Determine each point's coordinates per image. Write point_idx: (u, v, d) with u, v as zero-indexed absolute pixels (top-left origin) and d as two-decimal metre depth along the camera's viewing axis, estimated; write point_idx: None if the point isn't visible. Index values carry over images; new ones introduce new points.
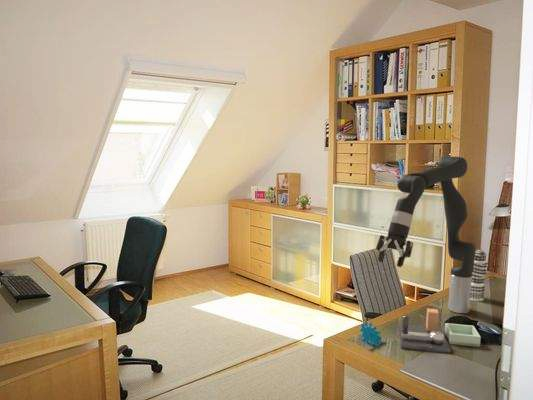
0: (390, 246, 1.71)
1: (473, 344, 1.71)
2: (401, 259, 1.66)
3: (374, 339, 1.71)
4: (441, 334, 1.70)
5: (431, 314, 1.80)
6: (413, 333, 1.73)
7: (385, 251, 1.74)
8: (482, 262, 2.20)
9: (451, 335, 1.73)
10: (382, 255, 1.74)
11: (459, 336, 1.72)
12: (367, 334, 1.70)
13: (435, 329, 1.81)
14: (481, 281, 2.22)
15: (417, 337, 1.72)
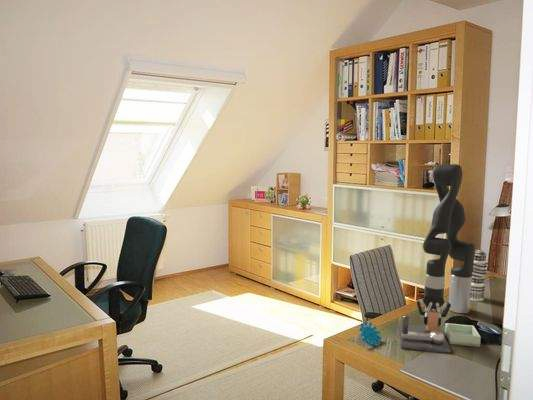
0: (433, 307, 1.81)
1: (473, 344, 1.71)
2: (440, 319, 1.81)
3: (373, 339, 1.71)
4: (441, 334, 1.70)
5: (431, 314, 1.80)
6: (413, 333, 1.73)
7: None
8: (482, 262, 2.20)
9: (451, 335, 1.73)
10: None
11: (459, 336, 1.72)
12: (366, 334, 1.71)
13: (435, 329, 1.81)
14: (481, 281, 2.22)
15: (417, 337, 1.72)
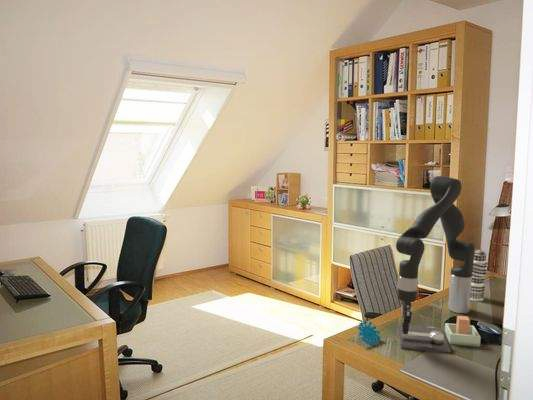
0: None
1: (473, 344, 1.71)
2: (404, 324, 1.71)
3: (372, 338, 1.71)
4: (441, 334, 1.70)
5: (462, 321, 1.75)
6: (413, 333, 1.73)
7: None
8: (482, 262, 2.20)
9: (451, 335, 1.73)
10: None
11: (459, 336, 1.72)
12: (365, 333, 1.72)
13: None
14: (481, 281, 2.22)
15: (417, 337, 1.72)
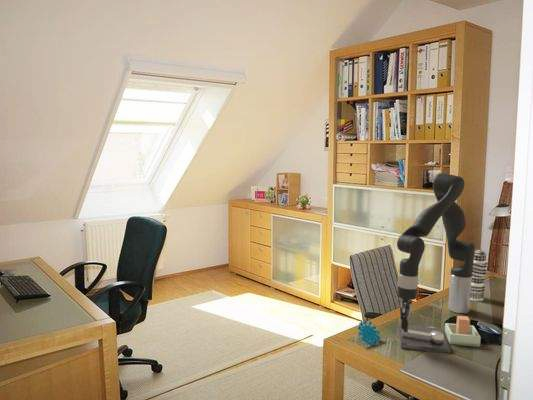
0: None
1: (473, 344, 1.71)
2: None
3: (372, 338, 1.72)
4: (441, 334, 1.70)
5: (462, 321, 1.75)
6: (413, 332, 1.74)
7: None
8: (482, 262, 2.20)
9: (451, 335, 1.73)
10: None
11: (459, 336, 1.72)
12: (364, 332, 1.72)
13: None
14: (481, 281, 2.22)
15: (416, 335, 1.73)
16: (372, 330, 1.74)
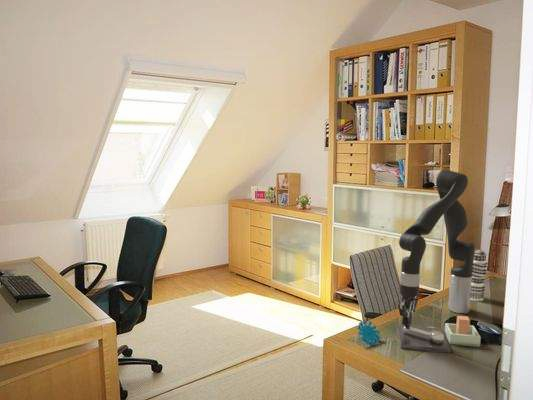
0: None
1: (473, 344, 1.71)
2: (403, 318, 1.77)
3: (371, 338, 1.72)
4: (440, 335, 1.70)
5: (462, 321, 1.75)
6: (414, 329, 1.76)
7: (411, 312, 1.79)
8: (482, 262, 2.20)
9: (451, 335, 1.73)
10: None
11: (459, 336, 1.72)
12: (364, 332, 1.72)
13: None
14: (481, 281, 2.22)
15: (416, 333, 1.75)
16: (372, 330, 1.74)
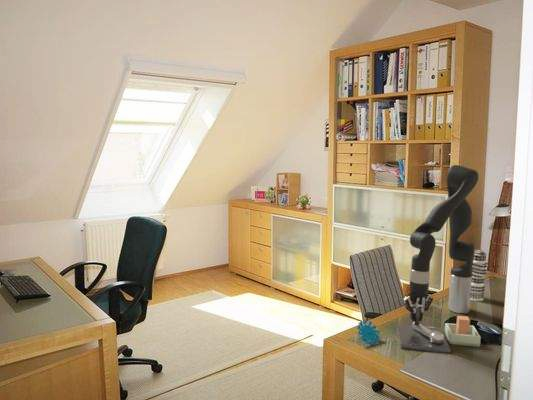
0: None
1: (473, 344, 1.71)
2: None
3: (371, 337, 1.72)
4: (439, 335, 1.70)
5: (462, 321, 1.75)
6: (421, 327, 1.79)
7: (421, 309, 1.82)
8: (482, 262, 2.20)
9: (451, 335, 1.73)
10: None
11: (459, 336, 1.72)
12: (364, 332, 1.72)
13: None
14: (481, 281, 2.22)
15: (421, 330, 1.78)
16: (372, 330, 1.74)
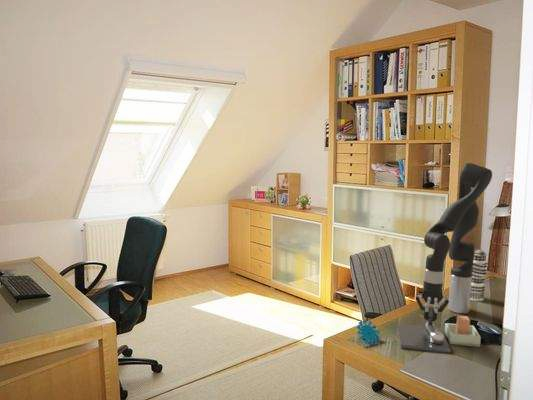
0: None
1: (473, 344, 1.71)
2: None
3: (371, 337, 1.72)
4: (436, 335, 1.70)
5: (462, 321, 1.75)
6: (430, 326, 1.80)
7: (434, 310, 1.82)
8: (482, 262, 2.20)
9: (451, 335, 1.73)
10: (433, 314, 1.83)
11: (459, 336, 1.72)
12: (364, 332, 1.72)
13: None
14: (481, 281, 2.22)
15: (428, 329, 1.79)
16: (372, 330, 1.75)
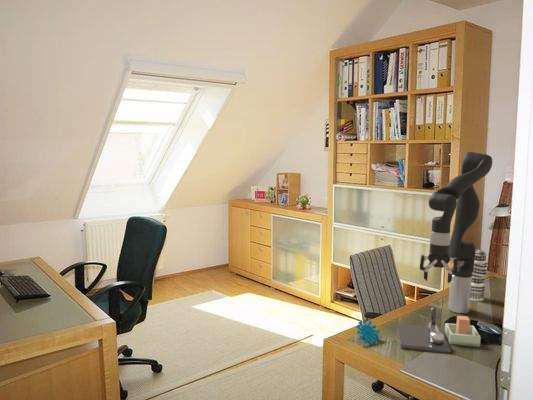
0: None
1: (473, 344, 1.71)
2: None
3: (370, 337, 1.72)
4: (436, 335, 1.70)
5: (462, 321, 1.75)
6: (432, 326, 1.80)
7: (448, 272, 1.78)
8: (482, 262, 2.20)
9: (451, 335, 1.73)
10: None
11: (459, 336, 1.72)
12: (363, 331, 1.73)
13: None
14: (481, 281, 2.22)
15: (430, 329, 1.79)
16: (371, 329, 1.75)
